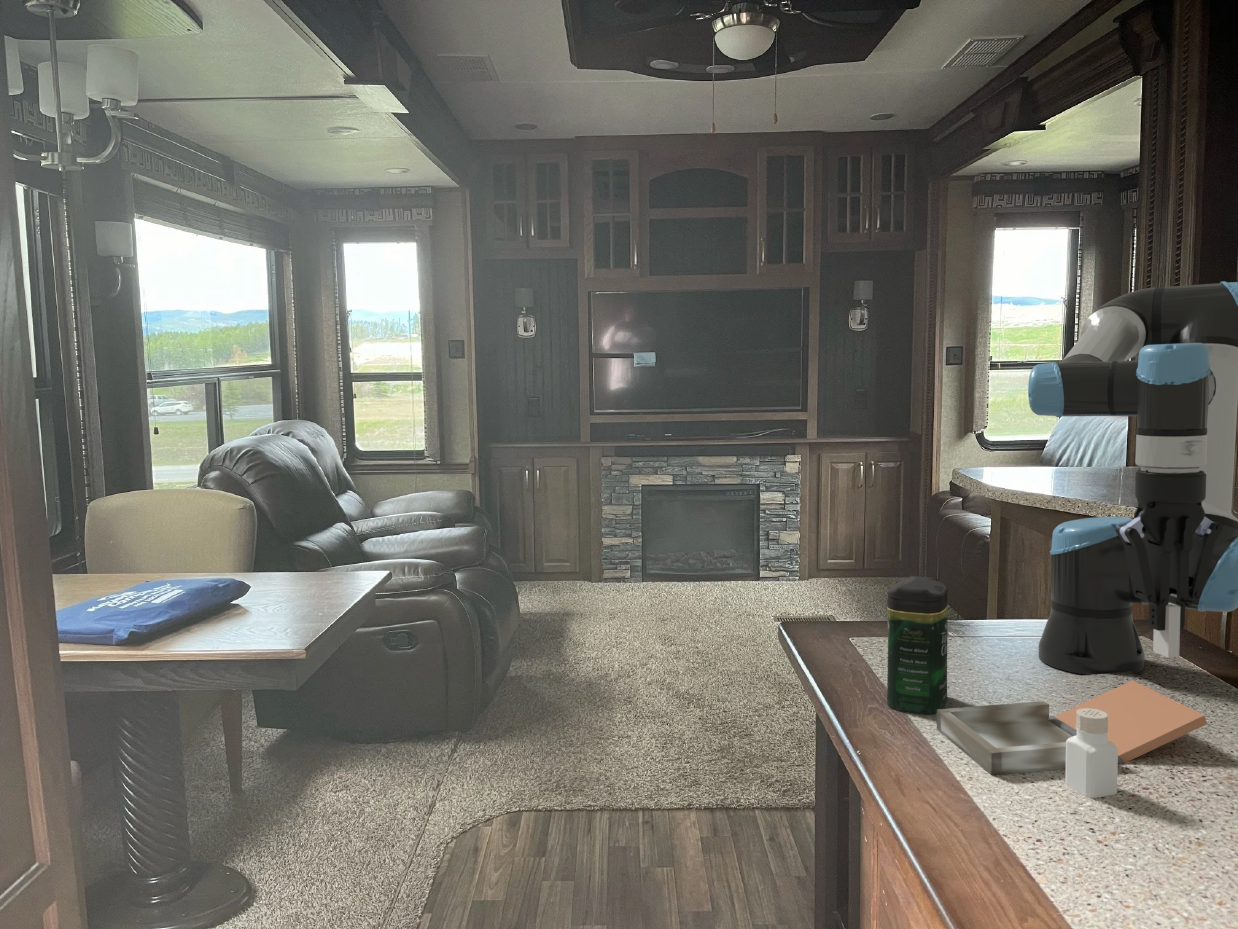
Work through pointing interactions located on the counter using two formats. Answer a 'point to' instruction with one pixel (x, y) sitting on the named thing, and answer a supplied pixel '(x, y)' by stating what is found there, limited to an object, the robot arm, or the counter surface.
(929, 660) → the coffee jar
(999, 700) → the counter surface
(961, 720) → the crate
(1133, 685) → the panel
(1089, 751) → the pepper shaker
